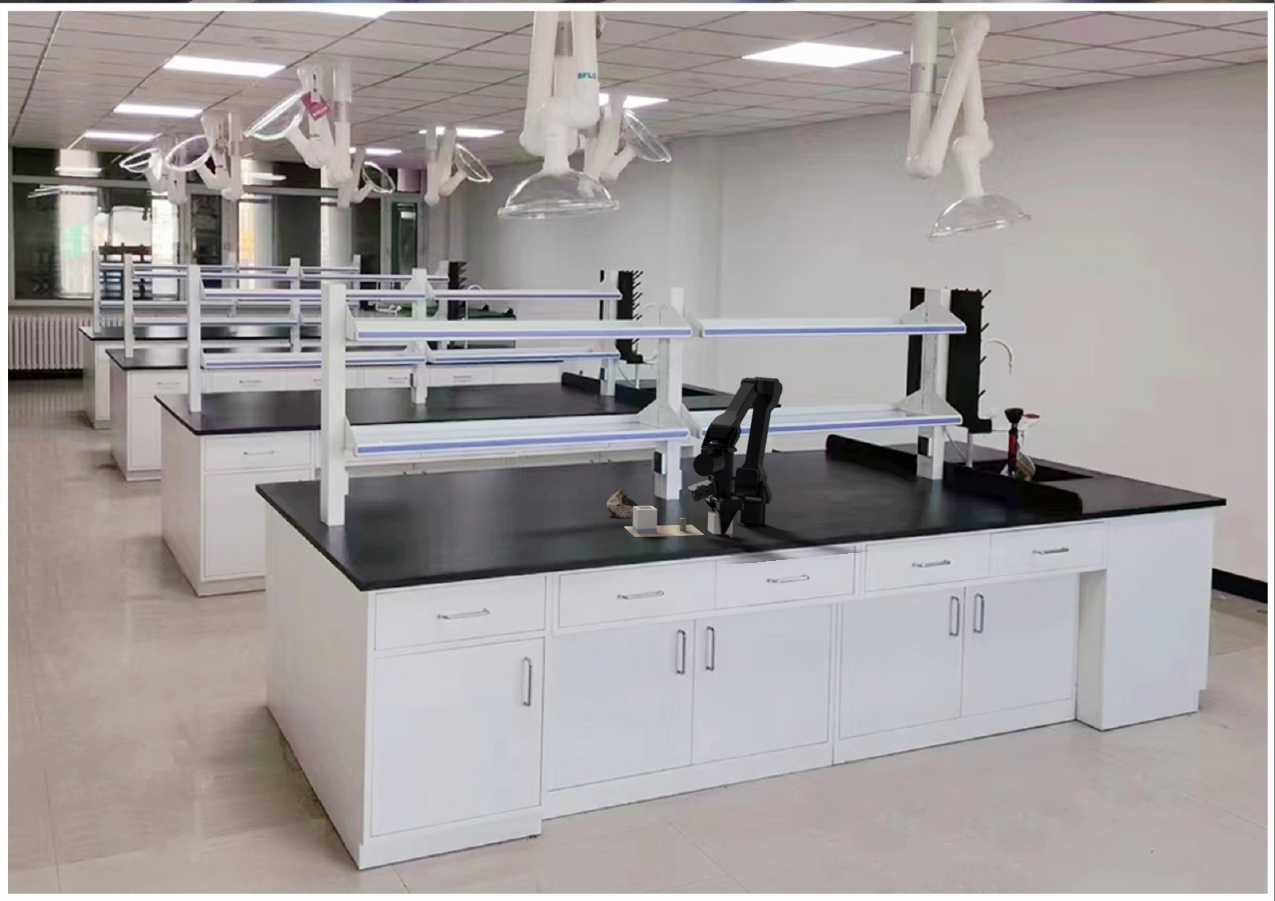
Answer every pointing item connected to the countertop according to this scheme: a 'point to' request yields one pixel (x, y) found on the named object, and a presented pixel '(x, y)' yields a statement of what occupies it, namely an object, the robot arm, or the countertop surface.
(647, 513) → the seated sleeve
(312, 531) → the countertop surface
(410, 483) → the countertop surface
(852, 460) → the countertop surface
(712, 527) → the banded sleeve
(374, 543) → the countertop surface
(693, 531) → the pin board
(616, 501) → the rock
